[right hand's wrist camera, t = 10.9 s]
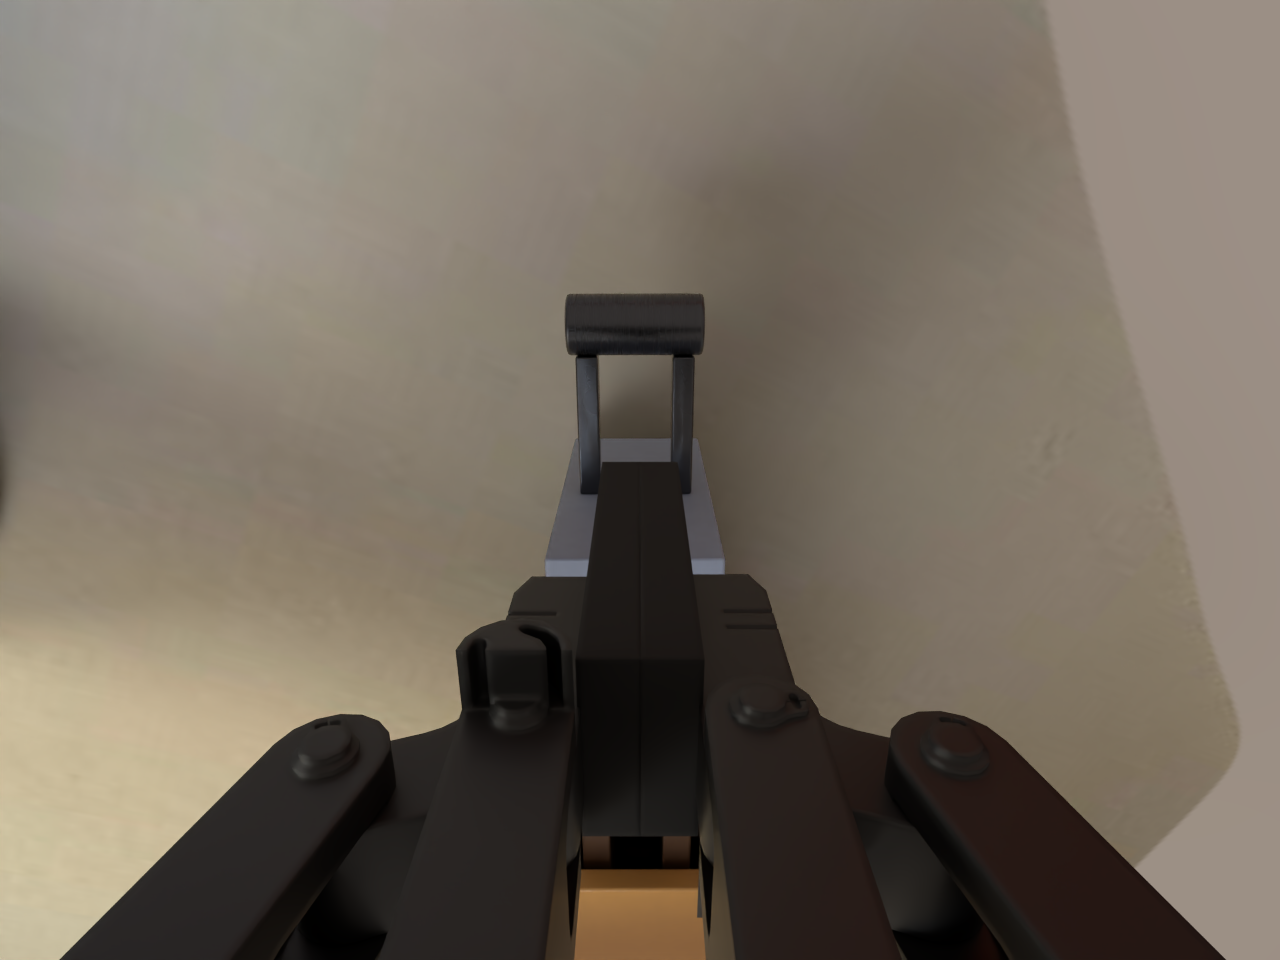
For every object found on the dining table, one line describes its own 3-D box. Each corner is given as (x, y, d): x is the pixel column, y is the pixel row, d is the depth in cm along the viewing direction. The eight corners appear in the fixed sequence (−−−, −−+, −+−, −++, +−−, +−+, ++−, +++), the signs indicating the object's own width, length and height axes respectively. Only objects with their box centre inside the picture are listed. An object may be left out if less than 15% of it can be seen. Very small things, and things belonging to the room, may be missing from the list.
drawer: (569, 273, 24) (530, 321, 16) (702, 273, 24) (736, 321, 16) (589, 829, 33) (572, 1053, 24) (687, 829, 33) (703, 1053, 24)
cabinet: (570, 657, 30) (536, 889, 20) (704, 657, 30) (736, 888, 20) (584, 976, 38) (564, 1265, 28) (693, 976, 38) (712, 1265, 28)
